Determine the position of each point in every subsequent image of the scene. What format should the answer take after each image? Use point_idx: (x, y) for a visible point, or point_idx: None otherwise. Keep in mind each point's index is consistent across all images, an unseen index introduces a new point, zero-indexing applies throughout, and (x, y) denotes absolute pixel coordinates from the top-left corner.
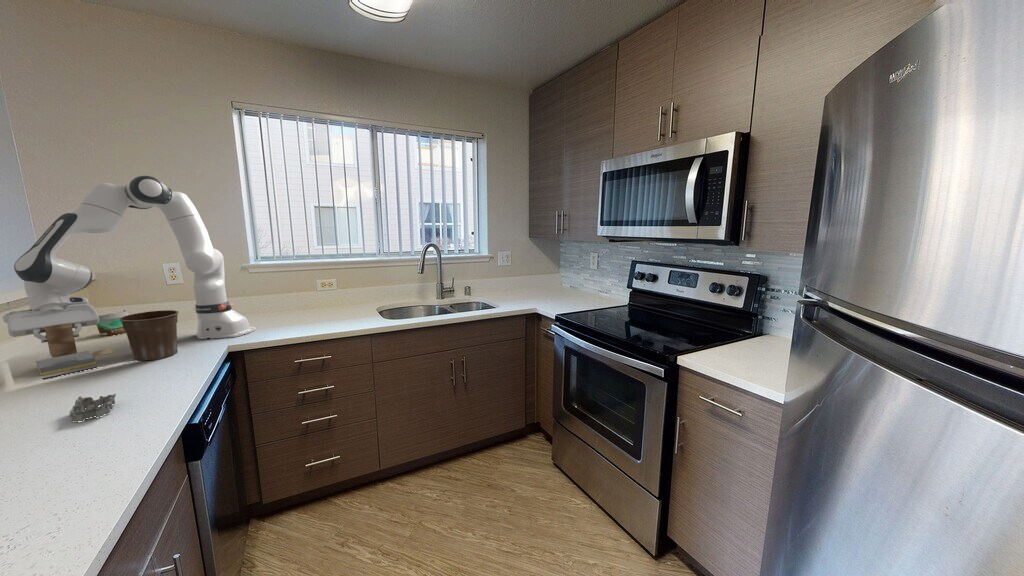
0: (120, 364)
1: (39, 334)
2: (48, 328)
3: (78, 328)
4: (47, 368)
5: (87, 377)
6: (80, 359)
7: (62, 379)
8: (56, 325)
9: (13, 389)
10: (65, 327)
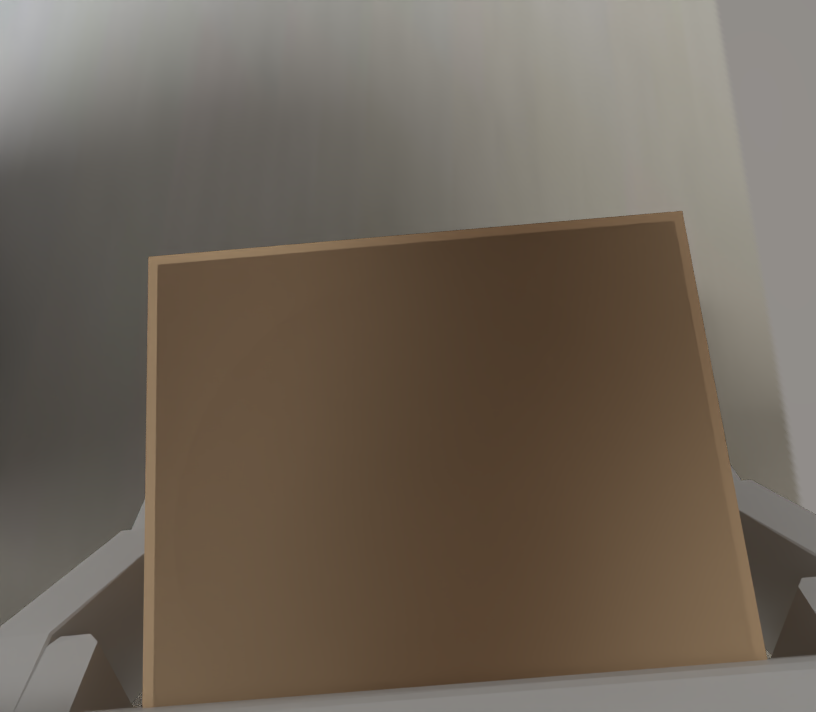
0: (94, 310)
1: (768, 511)
2: (626, 219)
3: (91, 570)
4: None
5: (326, 110)
6: None
7: (462, 206)
8: (469, 597)
9: (725, 211)
10: (298, 266)
